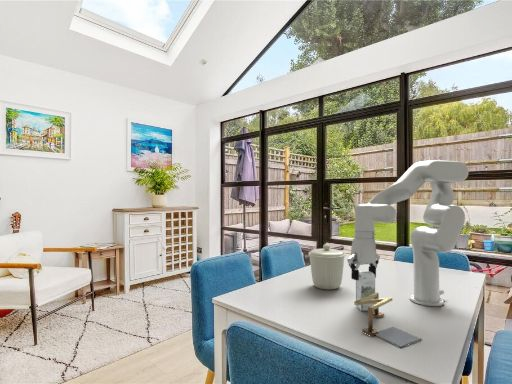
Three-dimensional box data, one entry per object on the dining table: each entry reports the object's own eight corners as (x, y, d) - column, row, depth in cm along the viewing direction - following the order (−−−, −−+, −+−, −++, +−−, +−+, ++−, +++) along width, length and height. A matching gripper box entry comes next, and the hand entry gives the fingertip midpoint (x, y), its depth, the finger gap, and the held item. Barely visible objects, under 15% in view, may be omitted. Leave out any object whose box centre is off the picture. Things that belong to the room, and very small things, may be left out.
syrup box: (369, 306, 125) (369, 270, 125) (375, 311, 119) (375, 274, 119) (355, 306, 125) (355, 270, 125) (361, 311, 119) (360, 274, 119)
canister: (303, 289, 148) (303, 245, 148) (314, 280, 164) (314, 240, 164) (341, 294, 139) (341, 248, 140) (349, 284, 155) (348, 242, 156)
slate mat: (393, 328, 104) (393, 326, 104) (421, 340, 95) (421, 338, 95) (373, 334, 99) (373, 333, 99) (400, 348, 91) (400, 346, 91)
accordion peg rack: (376, 313, 117) (375, 290, 117) (406, 325, 106) (405, 300, 106) (342, 322, 109) (342, 298, 109) (371, 337, 98) (370, 310, 98)
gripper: (371, 233, 130) (371, 273, 129) (341, 235, 121) (340, 278, 121) (386, 235, 123) (386, 278, 123) (356, 237, 115) (355, 283, 114)
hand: (363, 278), depth 122 cm, fingers open, 9 cm apart
